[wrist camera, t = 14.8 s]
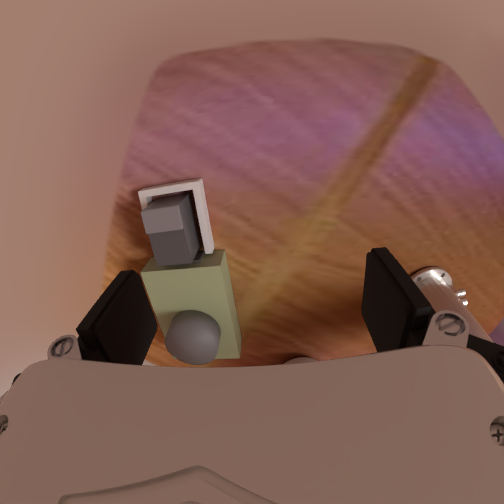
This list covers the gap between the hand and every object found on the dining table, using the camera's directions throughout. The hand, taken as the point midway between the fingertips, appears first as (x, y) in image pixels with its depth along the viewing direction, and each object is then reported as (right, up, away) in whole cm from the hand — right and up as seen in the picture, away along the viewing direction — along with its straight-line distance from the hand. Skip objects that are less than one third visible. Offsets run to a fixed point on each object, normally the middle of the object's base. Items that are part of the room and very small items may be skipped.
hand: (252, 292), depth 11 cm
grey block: (-11, +6, +29) cm, 32 cm away
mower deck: (-10, -2, +33) cm, 34 cm away
